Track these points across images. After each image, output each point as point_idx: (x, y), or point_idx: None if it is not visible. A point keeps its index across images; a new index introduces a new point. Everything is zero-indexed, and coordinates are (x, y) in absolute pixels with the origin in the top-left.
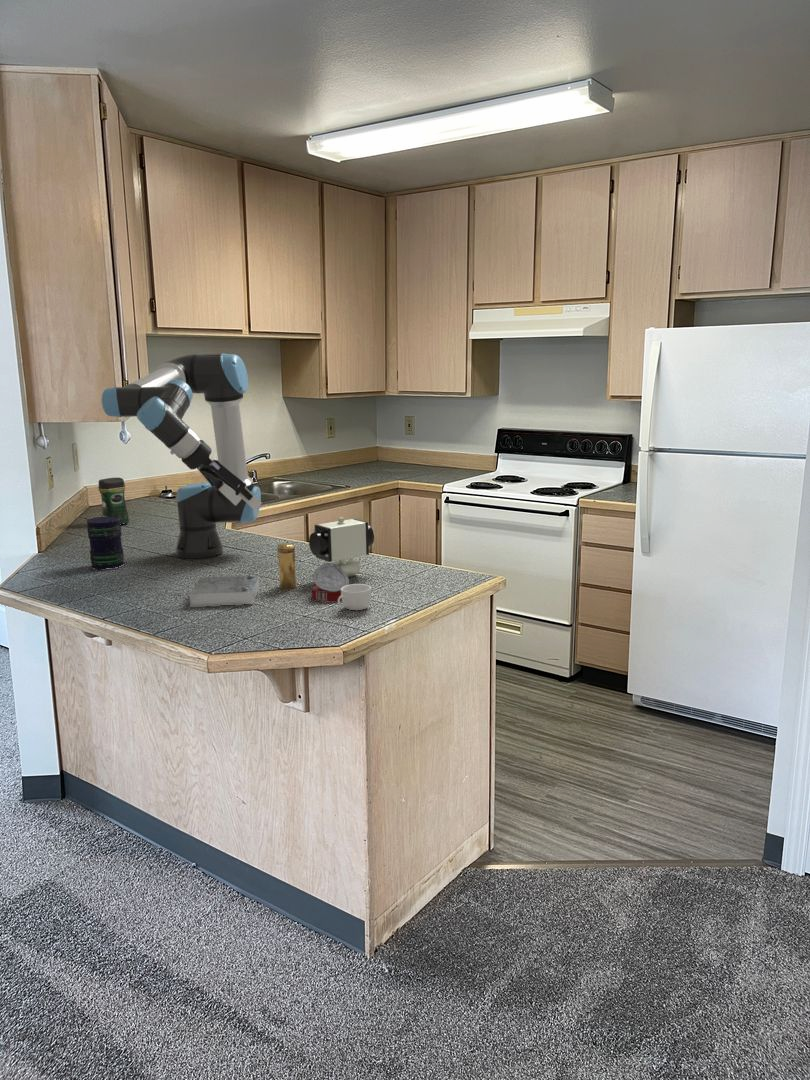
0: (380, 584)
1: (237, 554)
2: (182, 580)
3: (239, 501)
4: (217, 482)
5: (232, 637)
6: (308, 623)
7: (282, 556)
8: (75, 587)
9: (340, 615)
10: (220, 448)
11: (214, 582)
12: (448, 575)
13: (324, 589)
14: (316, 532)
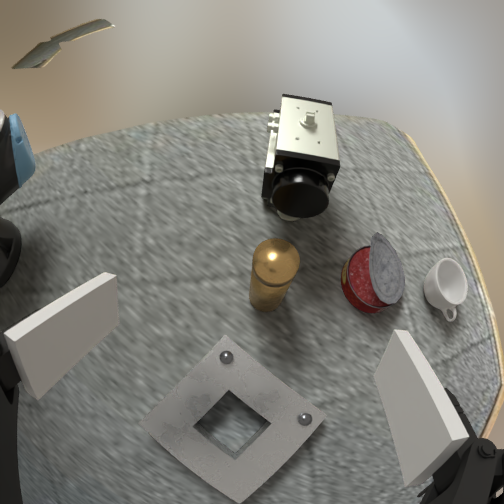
0: (358, 193)
1: (39, 223)
2: (69, 390)
3: (117, 298)
4: (5, 416)
5: (418, 486)
6: (446, 381)
7: (283, 288)
8: None
9: (445, 328)
10: None
11: (197, 430)
12: (368, 132)
13: (397, 299)
14: (305, 178)
